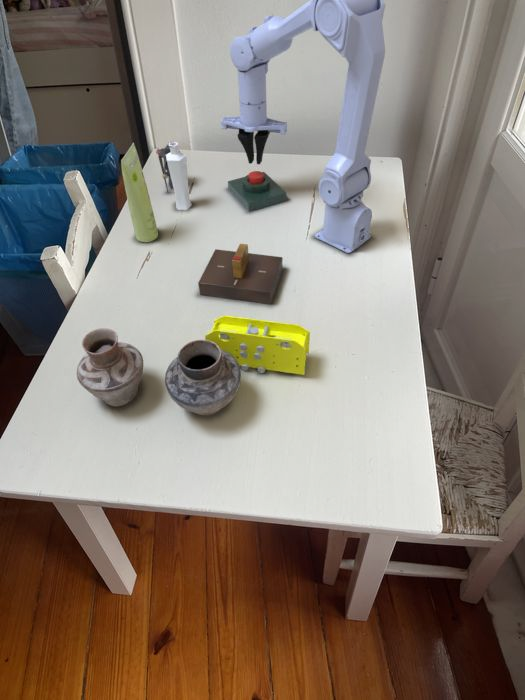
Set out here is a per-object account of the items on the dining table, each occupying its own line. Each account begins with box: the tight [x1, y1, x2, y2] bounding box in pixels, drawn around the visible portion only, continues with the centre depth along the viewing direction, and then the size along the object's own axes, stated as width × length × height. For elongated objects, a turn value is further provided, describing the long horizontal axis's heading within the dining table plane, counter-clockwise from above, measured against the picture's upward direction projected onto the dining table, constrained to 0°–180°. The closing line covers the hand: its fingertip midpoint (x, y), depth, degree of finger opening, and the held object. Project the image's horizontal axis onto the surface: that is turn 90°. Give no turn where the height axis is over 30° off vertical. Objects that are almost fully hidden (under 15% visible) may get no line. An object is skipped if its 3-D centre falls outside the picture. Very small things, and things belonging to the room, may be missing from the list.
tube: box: [120, 142, 159, 243], centre depth 100 cm, size 6×5×20 cm
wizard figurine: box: [155, 141, 181, 193], centre depth 118 cm, size 8×6×12 cm
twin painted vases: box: [76, 327, 242, 416], centre depth 72 cm, size 11×25×12 cm, turn 82°
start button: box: [247, 170, 264, 184], centre depth 115 cm, size 4×4×2 cm
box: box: [227, 171, 287, 213], centre depth 117 cm, size 12×10×4 cm
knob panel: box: [197, 248, 283, 305], centre depth 95 cm, size 14×11×3 cm
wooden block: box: [232, 243, 249, 278], centre depth 92 cm, size 6×2×4 cm, turn 166°
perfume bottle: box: [166, 141, 192, 211], centre depth 111 cm, size 5×4×15 cm
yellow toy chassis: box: [204, 315, 311, 376], centre depth 78 cm, size 16×6×8 cm, turn 78°
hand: (255, 162), depth 112 cm, fingers closed
